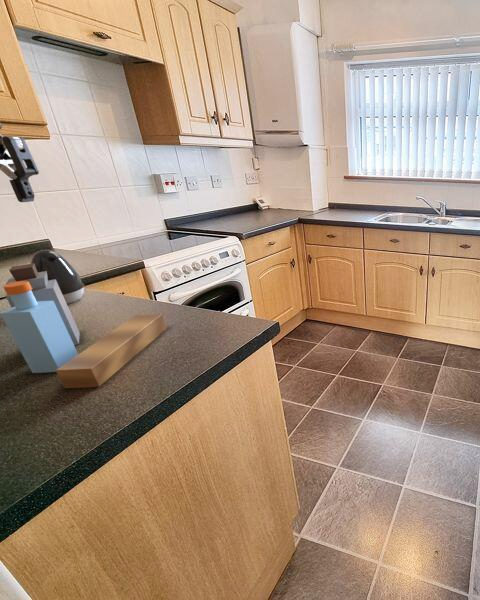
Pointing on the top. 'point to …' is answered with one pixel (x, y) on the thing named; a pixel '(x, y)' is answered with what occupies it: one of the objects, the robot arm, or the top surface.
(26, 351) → the light blue bottle
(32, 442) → the top surface
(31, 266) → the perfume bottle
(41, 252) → the pump dispenser
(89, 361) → the wooden board
